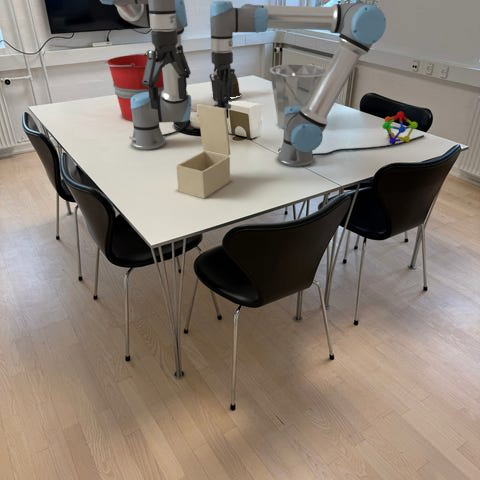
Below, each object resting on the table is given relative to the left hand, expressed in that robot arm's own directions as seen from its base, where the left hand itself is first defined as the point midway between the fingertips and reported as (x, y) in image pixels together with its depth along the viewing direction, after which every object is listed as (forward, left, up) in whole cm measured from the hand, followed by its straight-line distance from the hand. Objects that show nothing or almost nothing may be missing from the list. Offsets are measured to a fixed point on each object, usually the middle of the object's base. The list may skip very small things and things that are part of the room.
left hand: (169, 103), depth 140 cm
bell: (-146, -4, -35) cm, 150 cm away
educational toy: (-73, +89, -35) cm, 120 cm away
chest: (-14, +7, -35) cm, 38 cm away
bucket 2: (-94, +41, -35) cm, 108 cm away
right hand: (-26, +13, -12) cm, 31 cm away
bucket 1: (-101, -43, -35) cm, 116 cm away
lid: (-20, +10, -15) cm, 27 cm away
